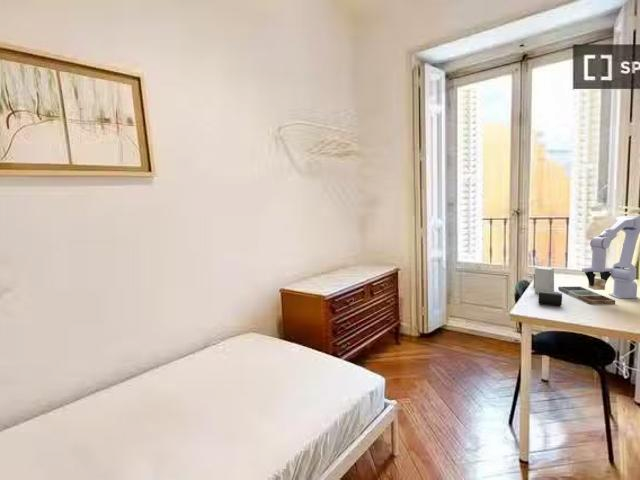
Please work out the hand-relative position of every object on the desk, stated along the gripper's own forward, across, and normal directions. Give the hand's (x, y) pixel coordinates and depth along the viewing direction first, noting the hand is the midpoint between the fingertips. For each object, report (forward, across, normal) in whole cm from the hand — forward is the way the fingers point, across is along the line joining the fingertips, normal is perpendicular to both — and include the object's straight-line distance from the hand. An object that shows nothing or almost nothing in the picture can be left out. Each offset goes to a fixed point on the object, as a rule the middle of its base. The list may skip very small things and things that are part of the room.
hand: (597, 285), depth 191 cm
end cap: (+9, -26, -6) cm, 28 cm away
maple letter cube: (+2, 0, 0) cm, 2 cm away
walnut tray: (+8, 0, 0) cm, 8 cm away
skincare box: (+9, -18, +16) cm, 26 cm away
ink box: (+9, -13, +28) cm, 32 cm away
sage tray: (+8, 0, +10) cm, 13 cm away
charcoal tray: (+8, 0, +19) cm, 21 cm away
